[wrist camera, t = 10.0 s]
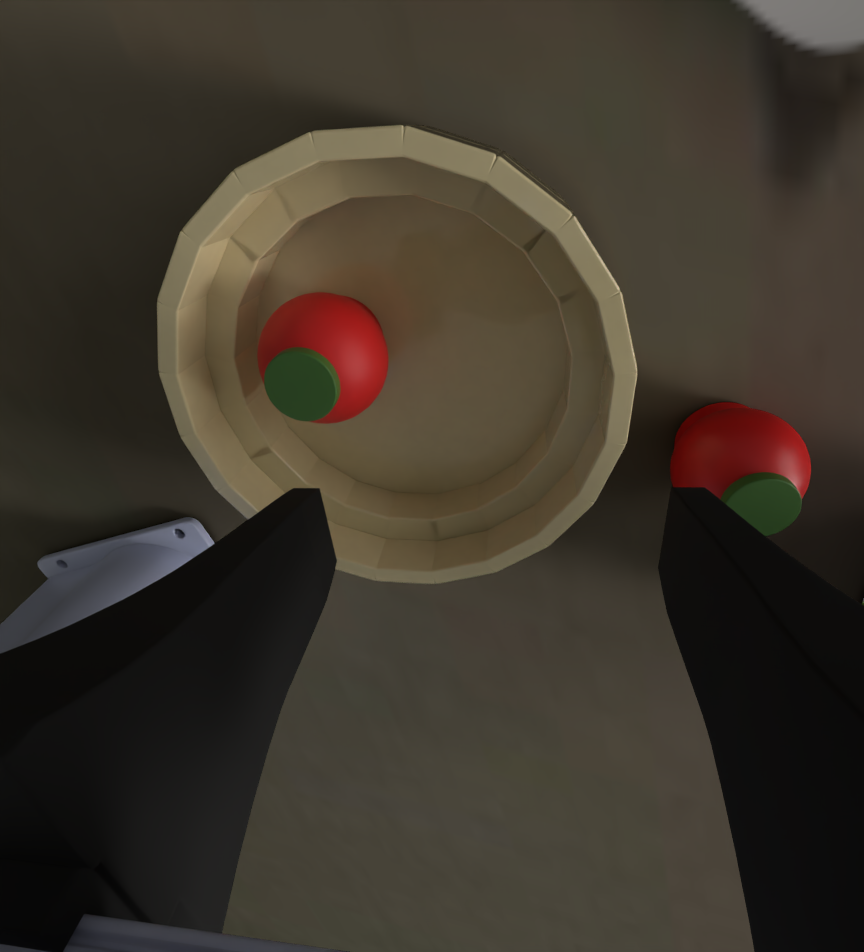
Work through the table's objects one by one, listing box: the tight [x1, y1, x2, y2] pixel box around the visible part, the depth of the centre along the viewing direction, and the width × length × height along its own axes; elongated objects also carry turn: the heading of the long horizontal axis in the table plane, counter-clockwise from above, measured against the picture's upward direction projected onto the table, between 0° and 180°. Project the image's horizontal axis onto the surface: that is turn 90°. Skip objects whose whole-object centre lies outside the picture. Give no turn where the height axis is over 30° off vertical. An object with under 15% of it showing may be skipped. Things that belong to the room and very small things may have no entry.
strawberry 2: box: [670, 402, 811, 536], centre depth 17 cm, size 4×4×4 cm
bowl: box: [157, 125, 638, 584], centre depth 17 cm, size 13×13×4 cm
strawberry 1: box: [257, 292, 388, 424], centre depth 16 cm, size 4×4×4 cm
